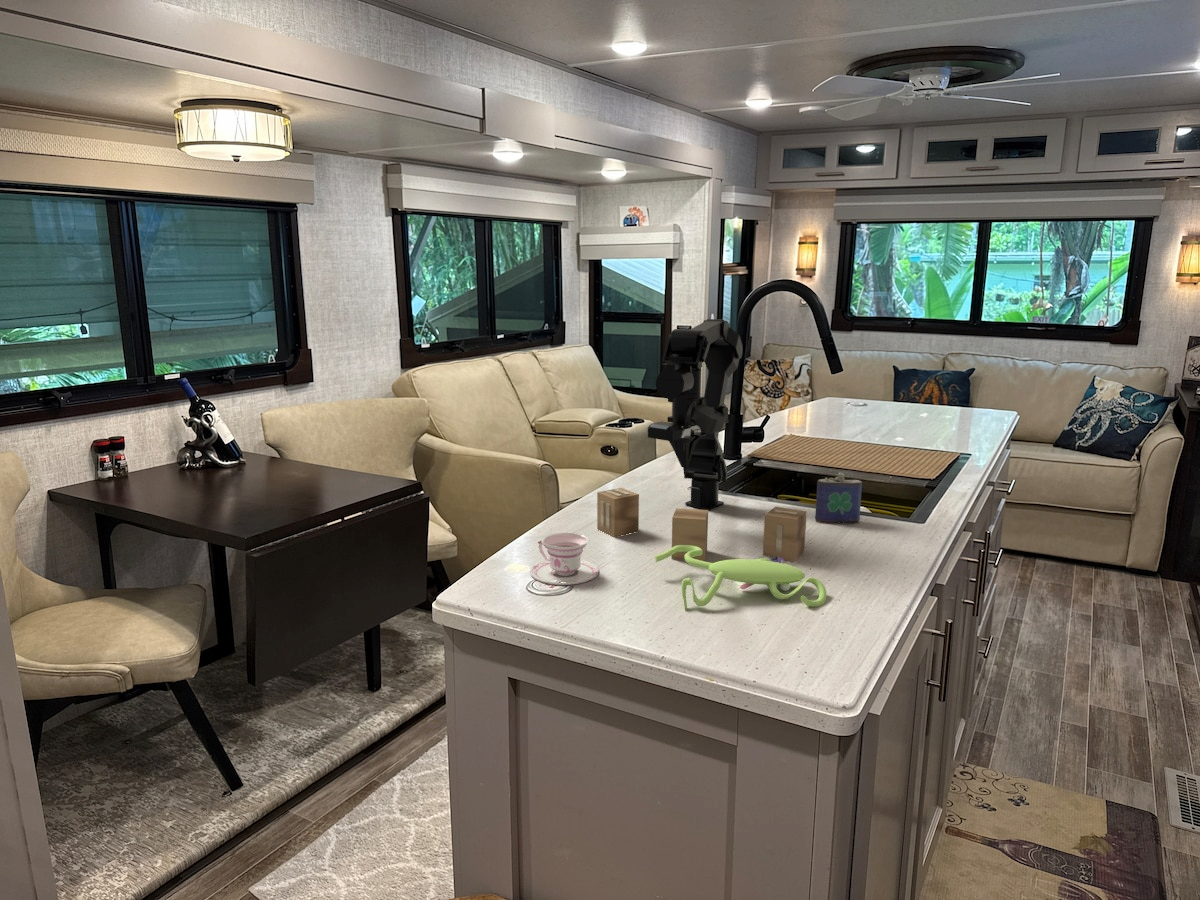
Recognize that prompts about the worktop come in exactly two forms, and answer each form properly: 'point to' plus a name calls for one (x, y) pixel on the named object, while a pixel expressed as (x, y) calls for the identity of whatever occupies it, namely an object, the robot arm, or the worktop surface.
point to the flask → (838, 500)
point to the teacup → (564, 560)
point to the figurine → (746, 575)
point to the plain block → (690, 531)
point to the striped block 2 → (784, 533)
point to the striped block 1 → (617, 512)
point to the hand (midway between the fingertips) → (684, 467)
